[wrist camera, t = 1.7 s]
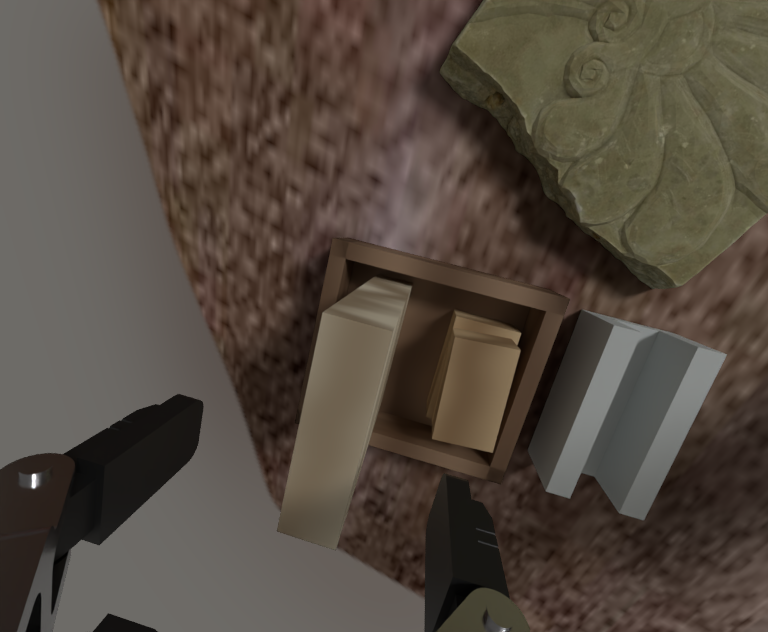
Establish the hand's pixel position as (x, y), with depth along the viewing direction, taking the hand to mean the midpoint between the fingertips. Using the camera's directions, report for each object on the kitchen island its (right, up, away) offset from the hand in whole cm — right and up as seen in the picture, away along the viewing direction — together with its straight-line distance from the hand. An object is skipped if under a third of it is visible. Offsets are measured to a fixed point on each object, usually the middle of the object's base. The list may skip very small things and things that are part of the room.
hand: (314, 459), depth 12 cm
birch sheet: (+2, +3, +14) cm, 14 cm away
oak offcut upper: (+8, 0, +11) cm, 14 cm away
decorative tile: (+18, +19, +10) cm, 28 cm away
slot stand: (+17, -1, +14) cm, 22 cm away
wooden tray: (+5, +2, +15) cm, 16 cm away
